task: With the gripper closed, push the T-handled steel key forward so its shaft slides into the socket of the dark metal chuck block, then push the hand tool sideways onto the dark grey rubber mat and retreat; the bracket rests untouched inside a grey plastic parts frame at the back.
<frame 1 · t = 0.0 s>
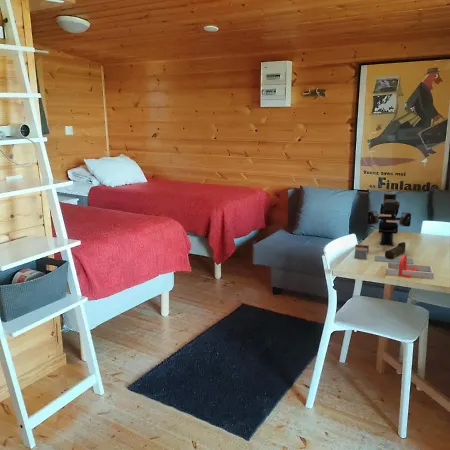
hand: (388, 222, 197), 17 cm above the table, tool horizontal, fingers open, 9 cm apart
chuck: (360, 257, 201), on the table
bracket: (408, 274, 179), resting in parts frame
parts frame: (408, 272, 179), on the table
key: (361, 249, 207), point 2 cm above the table, slide at 0.0 cm
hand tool: (395, 255, 205), on the table, touching mat
mat: (393, 259, 197), on the table
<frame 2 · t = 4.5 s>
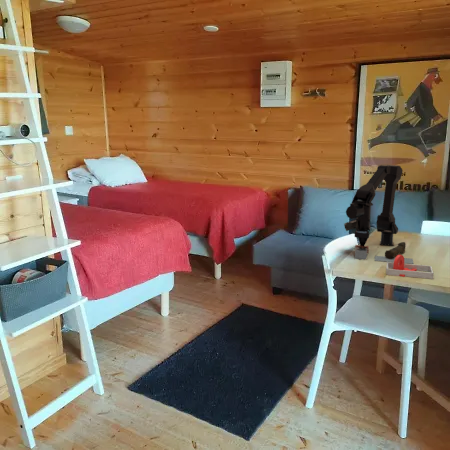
hand: (361, 248, 209), 2 cm above the table, tool pointing down, fingers closed
bracket: (405, 273, 180), resting in parts frame
key: (361, 250, 205), point 2 cm above the table, slide at 1.5 cm, touching gripper
everything else where it was.
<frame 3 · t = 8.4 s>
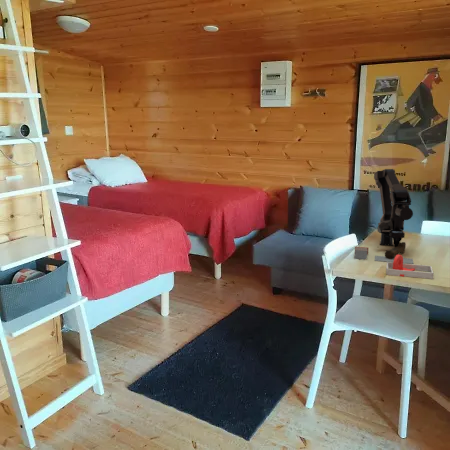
hand: (395, 247, 211), 2 cm above the table, tool pointing down, fingers closed
key: (361, 252, 203), point 2 cm above the table, slide at 4.2 cm
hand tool: (395, 254, 205), on the table, touching gripper, mat
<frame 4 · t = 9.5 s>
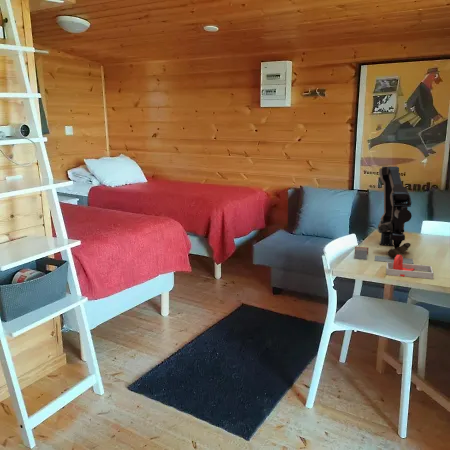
hand: (395, 250, 206), 2 cm above the table, tool pointing down, fingers closed
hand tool: (396, 253, 204), point 1 cm above the table, touching gripper, mat
everything else where it was.
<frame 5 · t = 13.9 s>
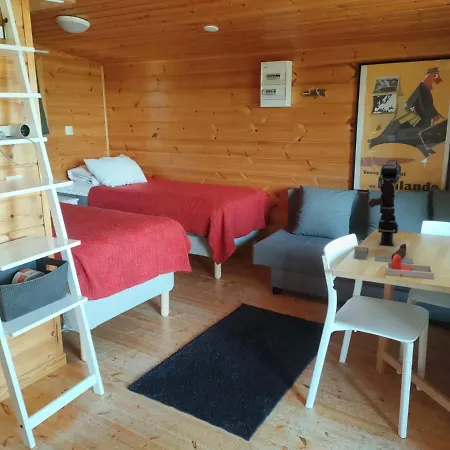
hand: (386, 225, 207), 13 cm above the table, tool pointing down, fingers closed
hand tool: (399, 257, 201), on the table, touching mat
at the end: key slide at 4.2 cm; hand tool inside the target area on the mat (4.0 cm from its centre), point 0.0 cm above the mat's base; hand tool touching mat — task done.
